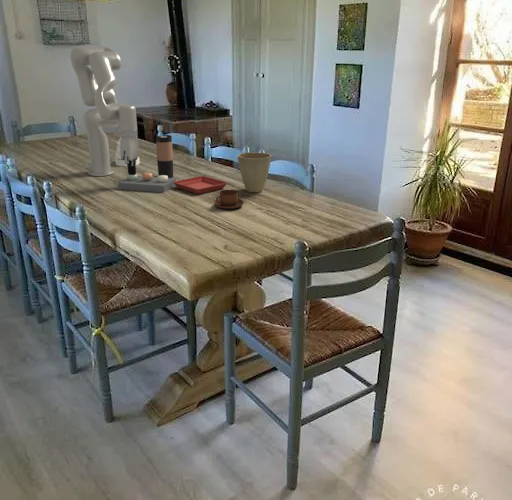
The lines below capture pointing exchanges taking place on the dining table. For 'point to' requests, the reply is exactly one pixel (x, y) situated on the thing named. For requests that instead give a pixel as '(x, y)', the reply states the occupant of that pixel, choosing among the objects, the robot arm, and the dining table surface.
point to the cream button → (162, 178)
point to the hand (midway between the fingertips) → (132, 174)
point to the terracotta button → (147, 176)
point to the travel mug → (164, 155)
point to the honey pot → (118, 156)
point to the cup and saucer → (228, 200)
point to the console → (147, 184)
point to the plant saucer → (200, 184)
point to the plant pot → (254, 170)
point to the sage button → (132, 177)
